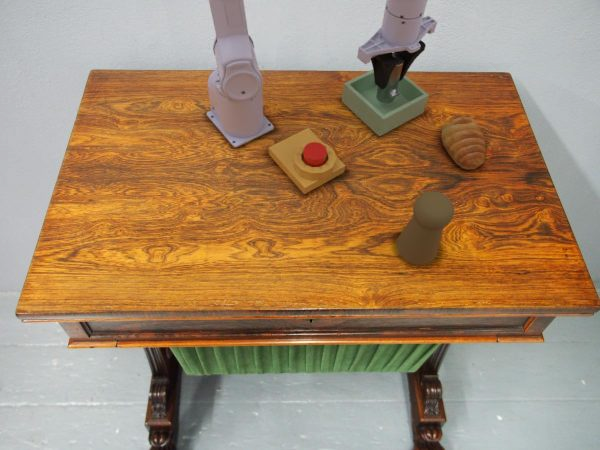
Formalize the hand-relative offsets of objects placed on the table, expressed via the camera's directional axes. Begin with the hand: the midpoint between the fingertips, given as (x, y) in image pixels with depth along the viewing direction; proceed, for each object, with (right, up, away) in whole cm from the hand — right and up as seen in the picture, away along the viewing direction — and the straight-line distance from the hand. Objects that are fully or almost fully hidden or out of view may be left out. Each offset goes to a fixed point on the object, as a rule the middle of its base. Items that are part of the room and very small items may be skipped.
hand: (388, 81), depth 84 cm
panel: (-14, -14, -3) cm, 20 cm away
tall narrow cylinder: (0, -2, +3) cm, 3 cm away
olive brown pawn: (+2, -28, -11) cm, 30 cm away
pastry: (+13, -11, 0) cm, 17 cm away
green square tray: (0, -3, +5) cm, 6 cm away
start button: (-13, -14, -7) cm, 20 cm away
